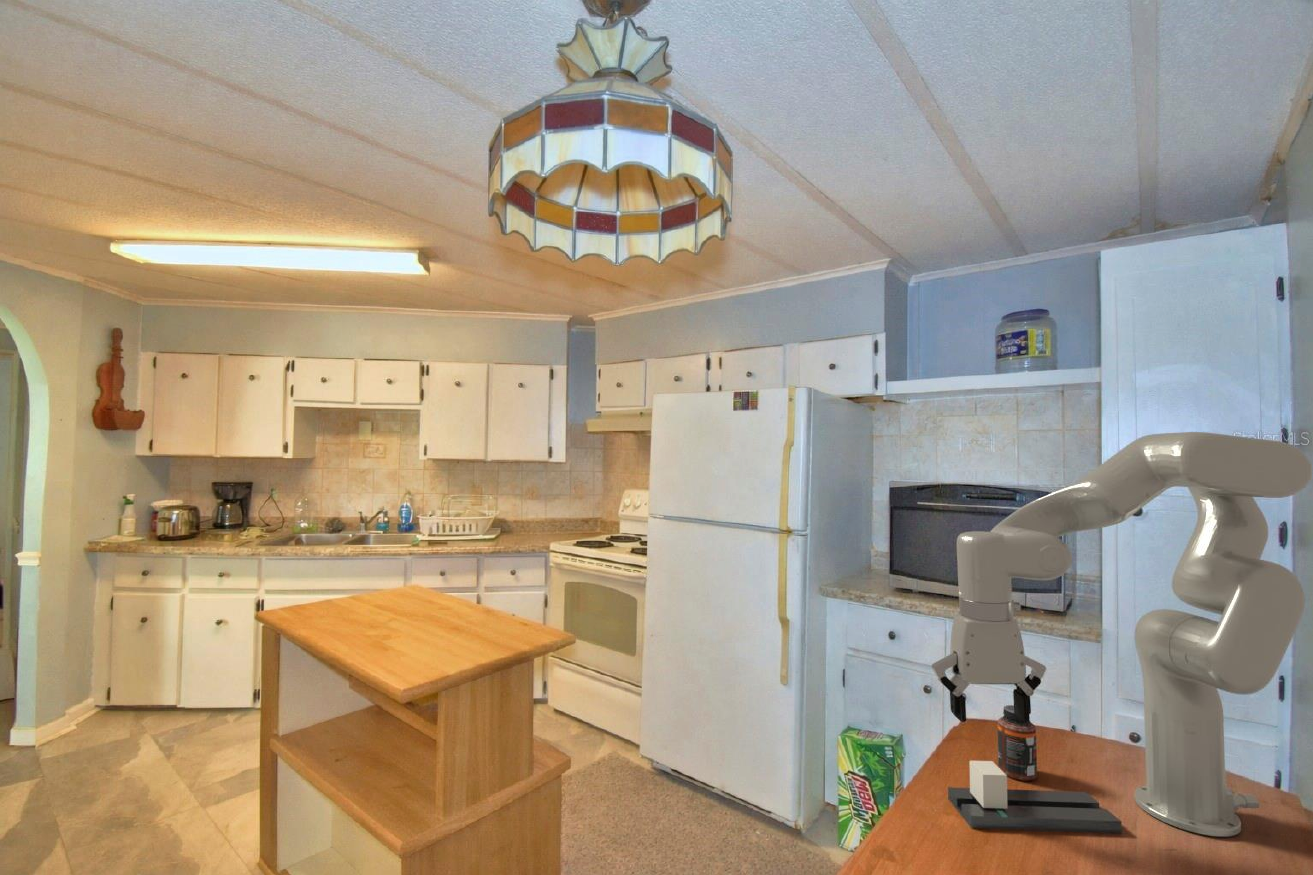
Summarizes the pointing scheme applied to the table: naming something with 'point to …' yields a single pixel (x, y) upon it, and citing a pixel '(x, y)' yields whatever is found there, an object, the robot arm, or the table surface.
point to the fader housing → (1037, 812)
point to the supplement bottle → (1016, 746)
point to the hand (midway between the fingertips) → (990, 718)
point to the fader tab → (988, 784)
